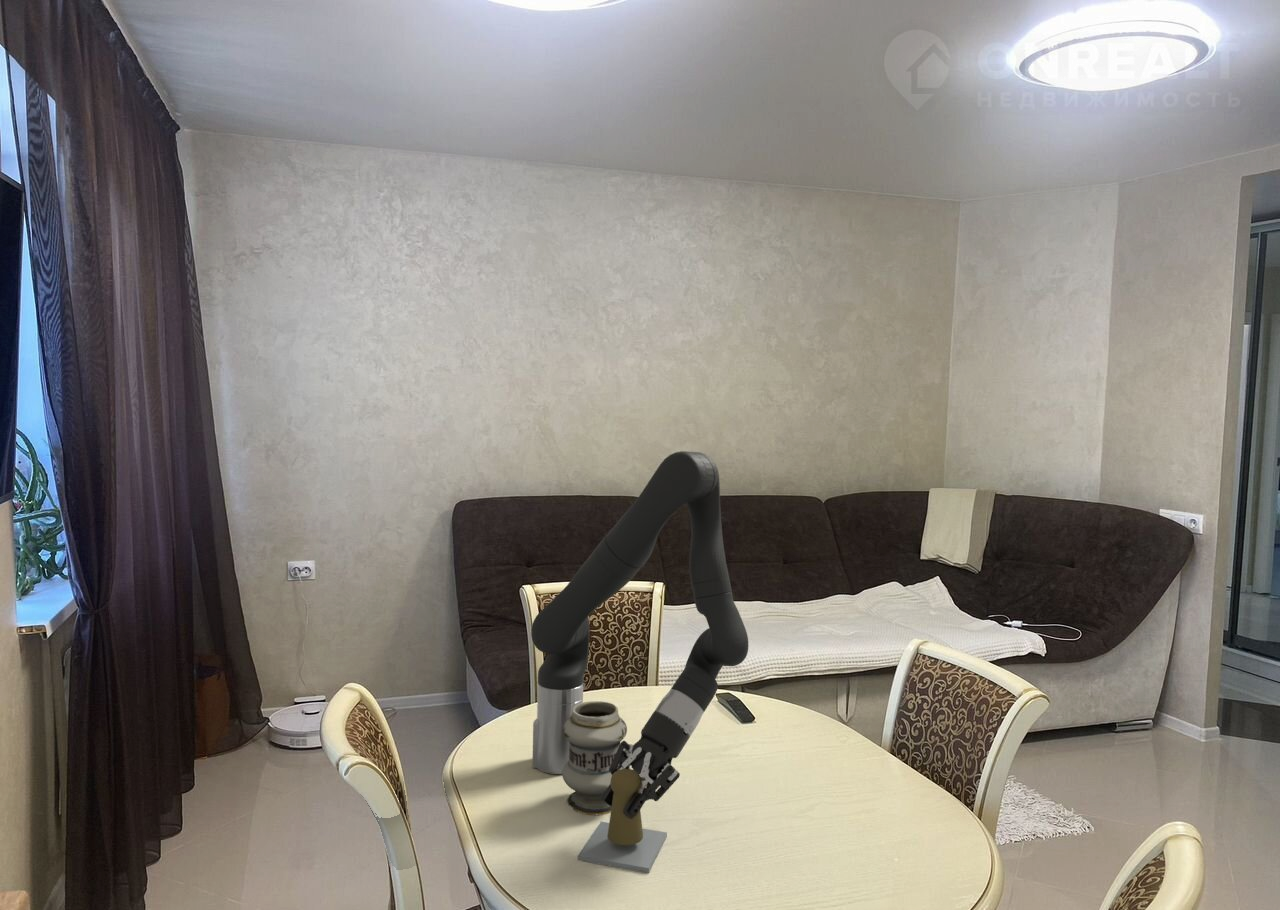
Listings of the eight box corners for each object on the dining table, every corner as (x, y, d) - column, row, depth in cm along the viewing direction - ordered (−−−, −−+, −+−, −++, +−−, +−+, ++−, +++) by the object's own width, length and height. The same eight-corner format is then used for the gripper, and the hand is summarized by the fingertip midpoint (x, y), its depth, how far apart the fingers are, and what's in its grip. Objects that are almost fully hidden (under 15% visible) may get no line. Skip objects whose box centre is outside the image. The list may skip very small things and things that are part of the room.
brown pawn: (639, 847, 143) (640, 781, 142) (603, 842, 144) (604, 777, 143) (646, 829, 149) (647, 766, 148) (611, 825, 150) (612, 763, 149)
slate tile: (577, 860, 142) (577, 855, 142) (600, 825, 154) (601, 821, 154) (648, 873, 139) (649, 868, 139) (667, 836, 151) (667, 832, 151)
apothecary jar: (549, 798, 164) (551, 704, 163) (601, 782, 171) (604, 692, 170) (585, 824, 154) (587, 725, 153) (639, 806, 162) (642, 711, 160)
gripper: (635, 699, 155) (578, 782, 149) (689, 724, 144) (631, 815, 138) (657, 721, 159) (602, 804, 152) (712, 747, 148) (656, 837, 141)
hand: (616, 809), depth 145 cm, fingers closed on brown pawn, 5 cm apart
